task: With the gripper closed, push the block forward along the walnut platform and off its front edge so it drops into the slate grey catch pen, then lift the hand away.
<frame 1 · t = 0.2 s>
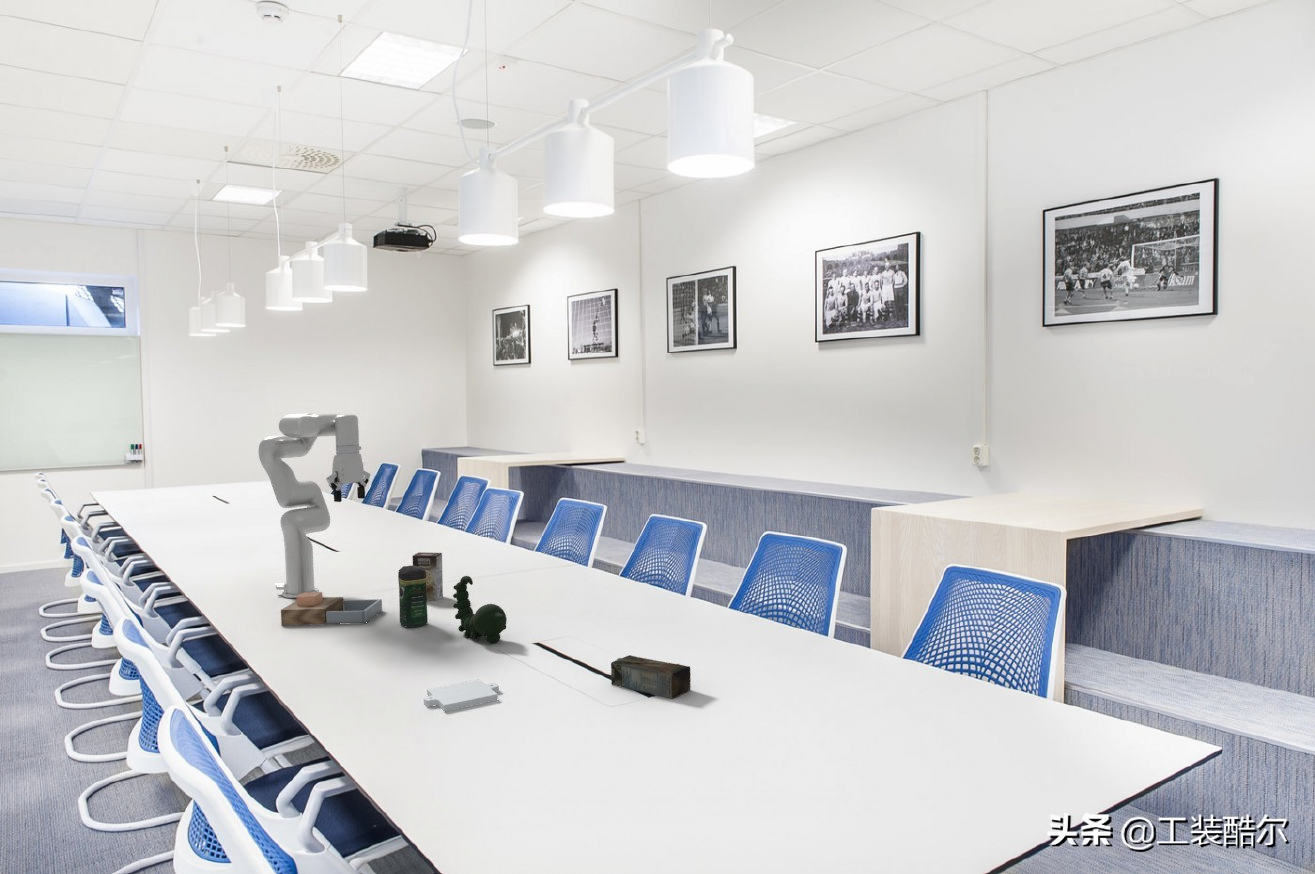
hand: (349, 500, 297), 37 cm above the table, tool pointing down, fingers open, 9 cm apart
block: (309, 603, 283), point 5 cm above the table, touching platform
beverage carton: (650, 689, 210), on the table
catch pen: (354, 617, 283), on the table
mounting plate: (462, 700, 206), on the table
platform: (313, 618, 283), on the table
coffee box: (428, 598, 308), on the table
coffee jar: (414, 625, 273), on the table
toy figurine: (481, 639, 256), on the table
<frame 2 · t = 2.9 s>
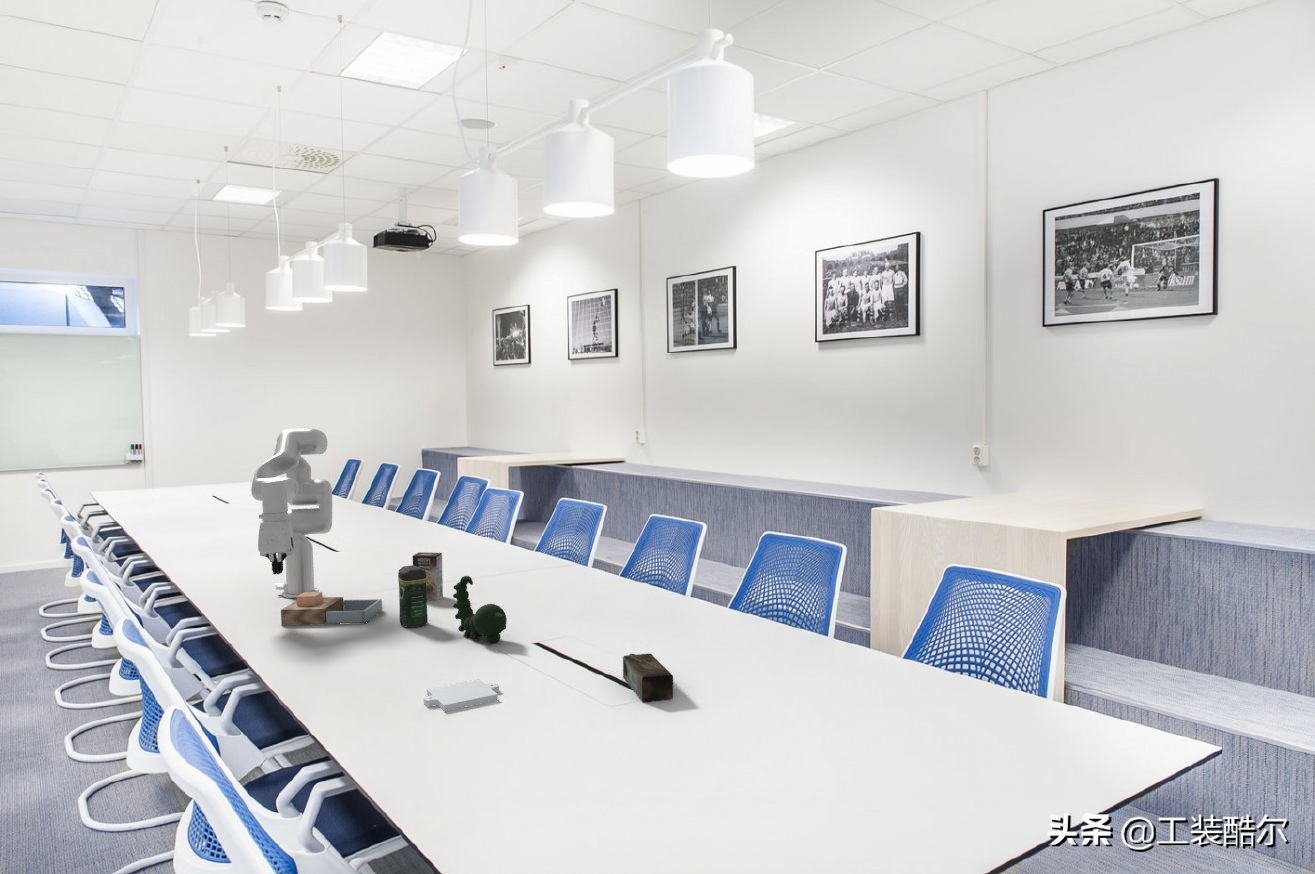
hand: (277, 573, 282), 15 cm above the table, tool pointing down, fingers closed
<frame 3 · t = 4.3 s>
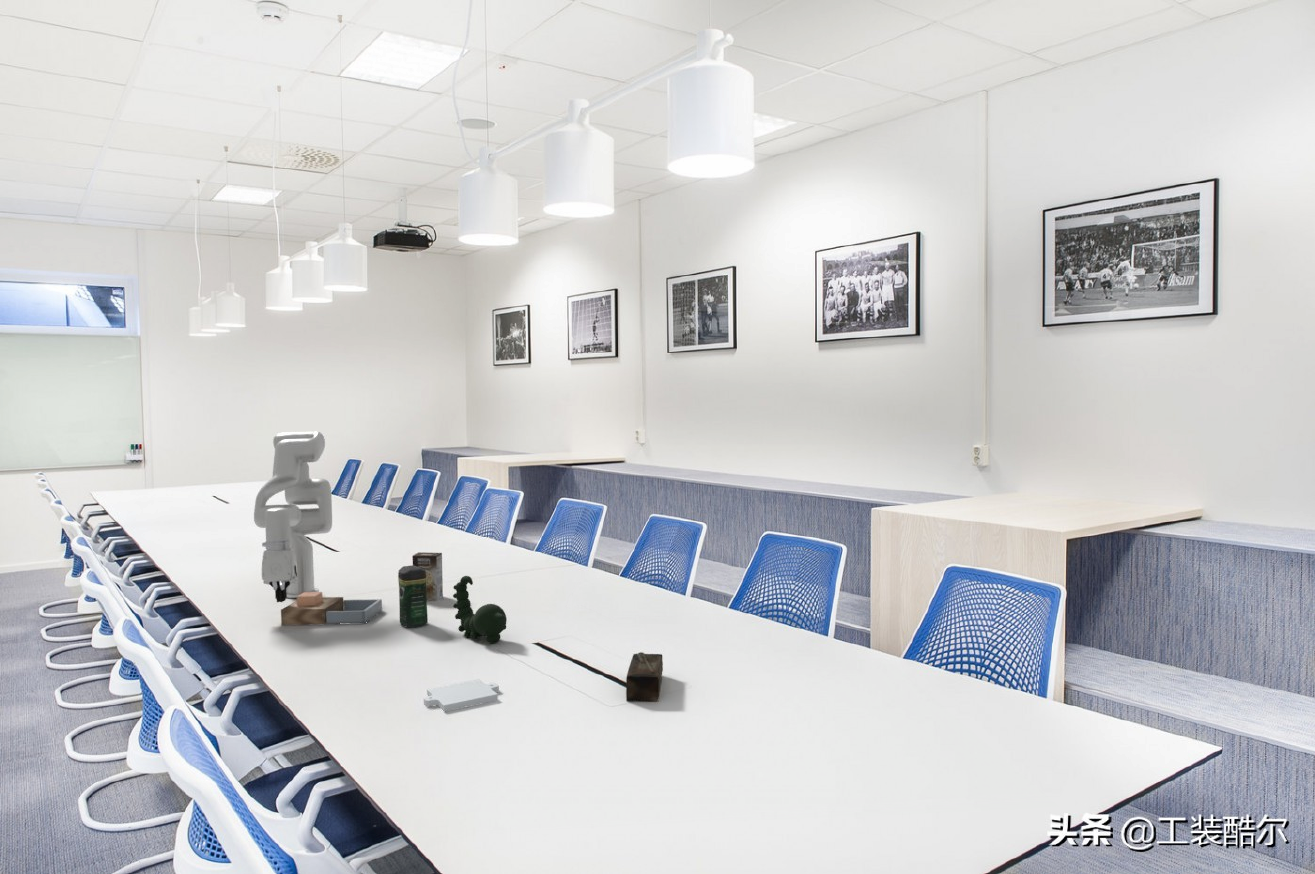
hand: (281, 601, 283), 6 cm above the table, tool pointing down, fingers closed
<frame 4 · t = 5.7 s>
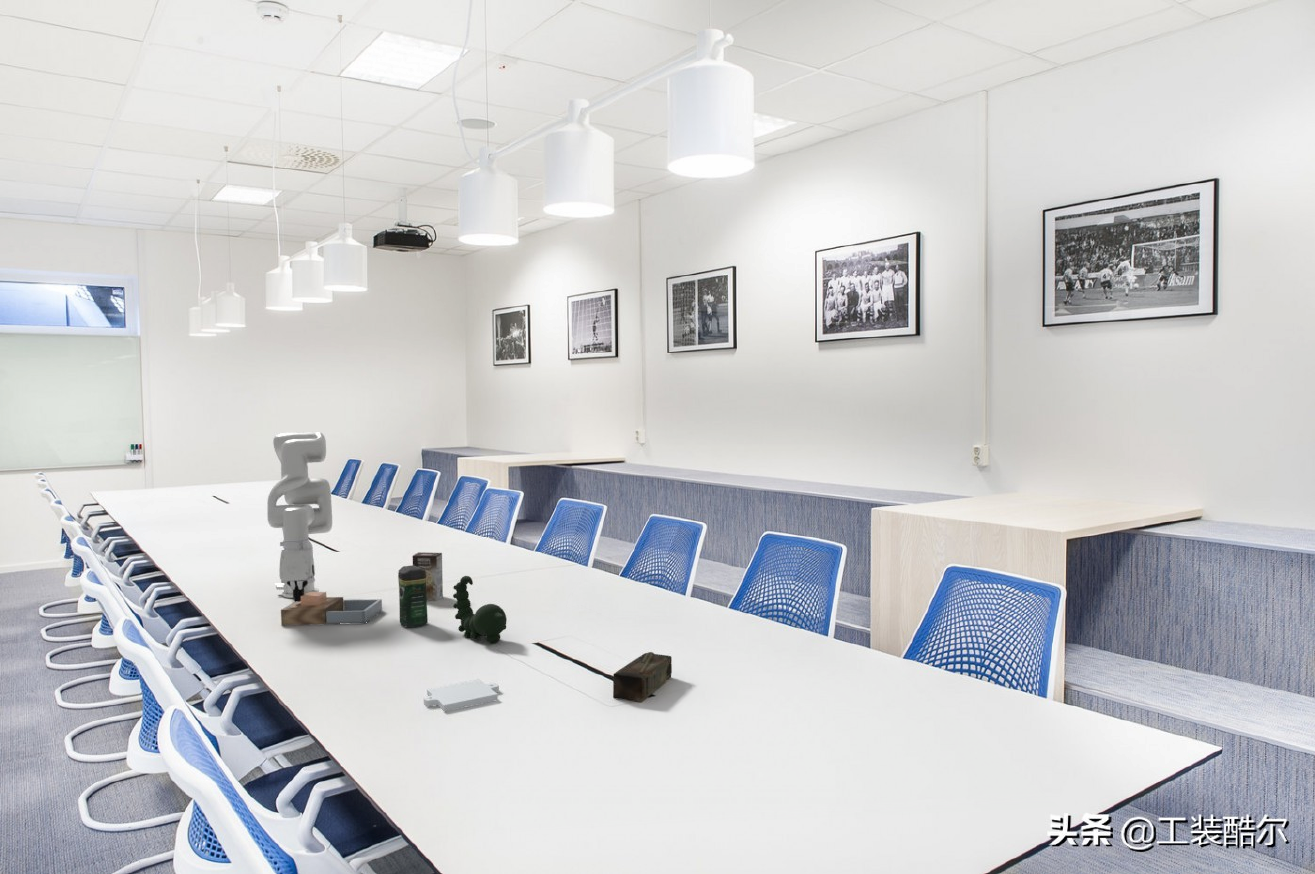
hand: (298, 600, 283), 6 cm above the table, tool pointing down, fingers closed
block: (313, 603, 283), point 5 cm above the table, touching gripper
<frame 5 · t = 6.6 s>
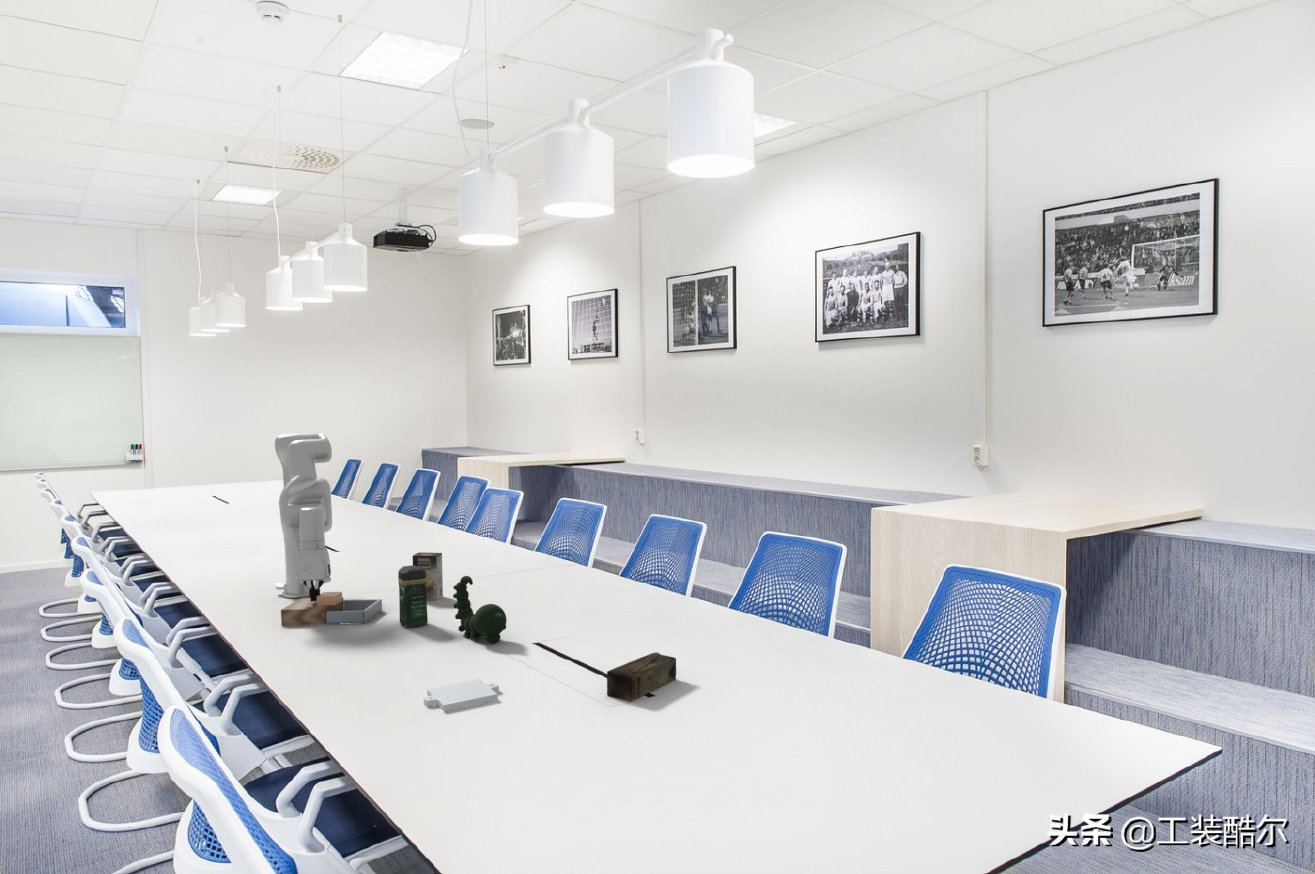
hand: (315, 600, 283), 6 cm above the table, tool pointing down, fingers closed
block: (329, 603, 283), point 5 cm above the table, touching gripper, platform
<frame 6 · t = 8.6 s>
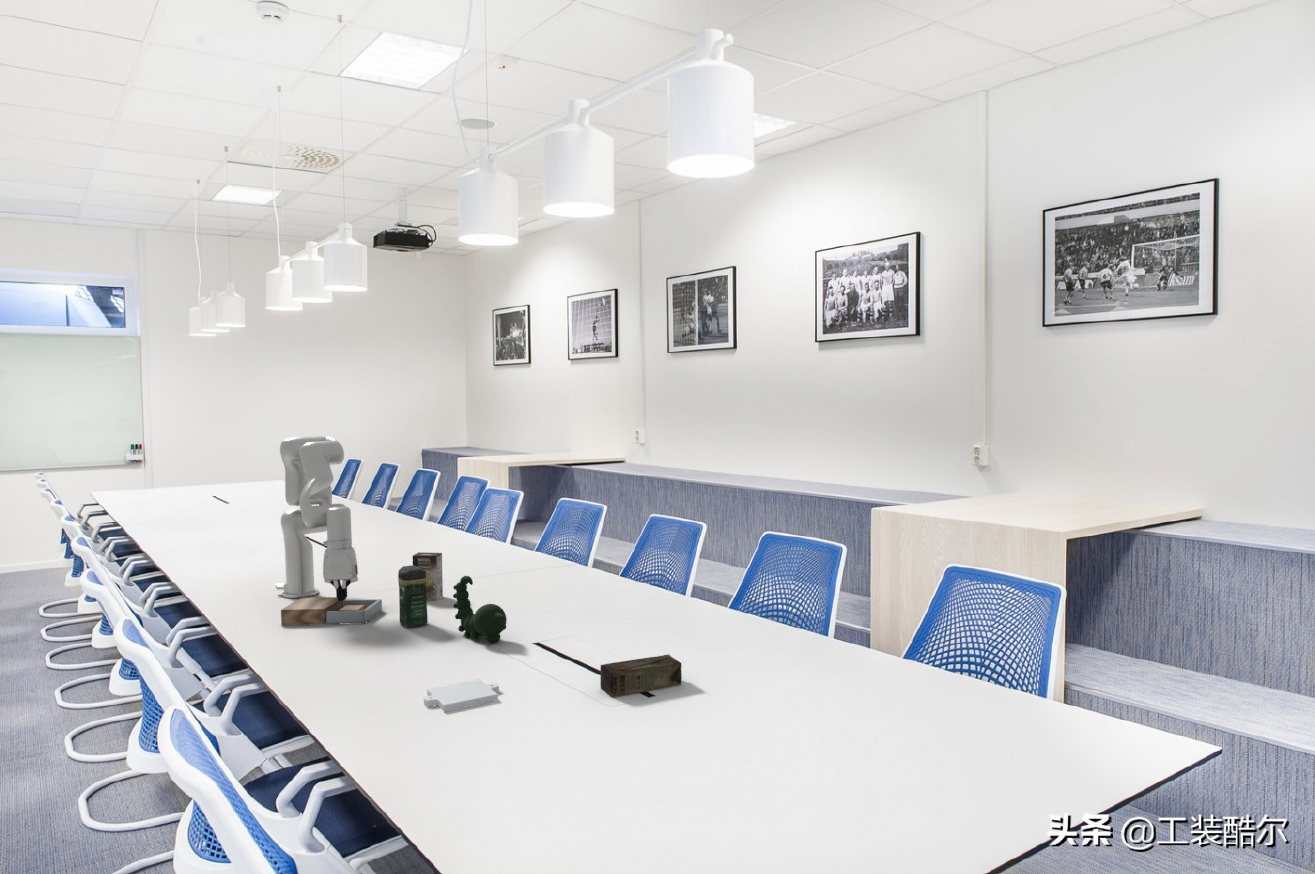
hand: (342, 599, 283), 6 cm above the table, tool pointing down, fingers closed
block: (352, 607, 282), point 3 cm above the table, tilted 180°, touching catch pen
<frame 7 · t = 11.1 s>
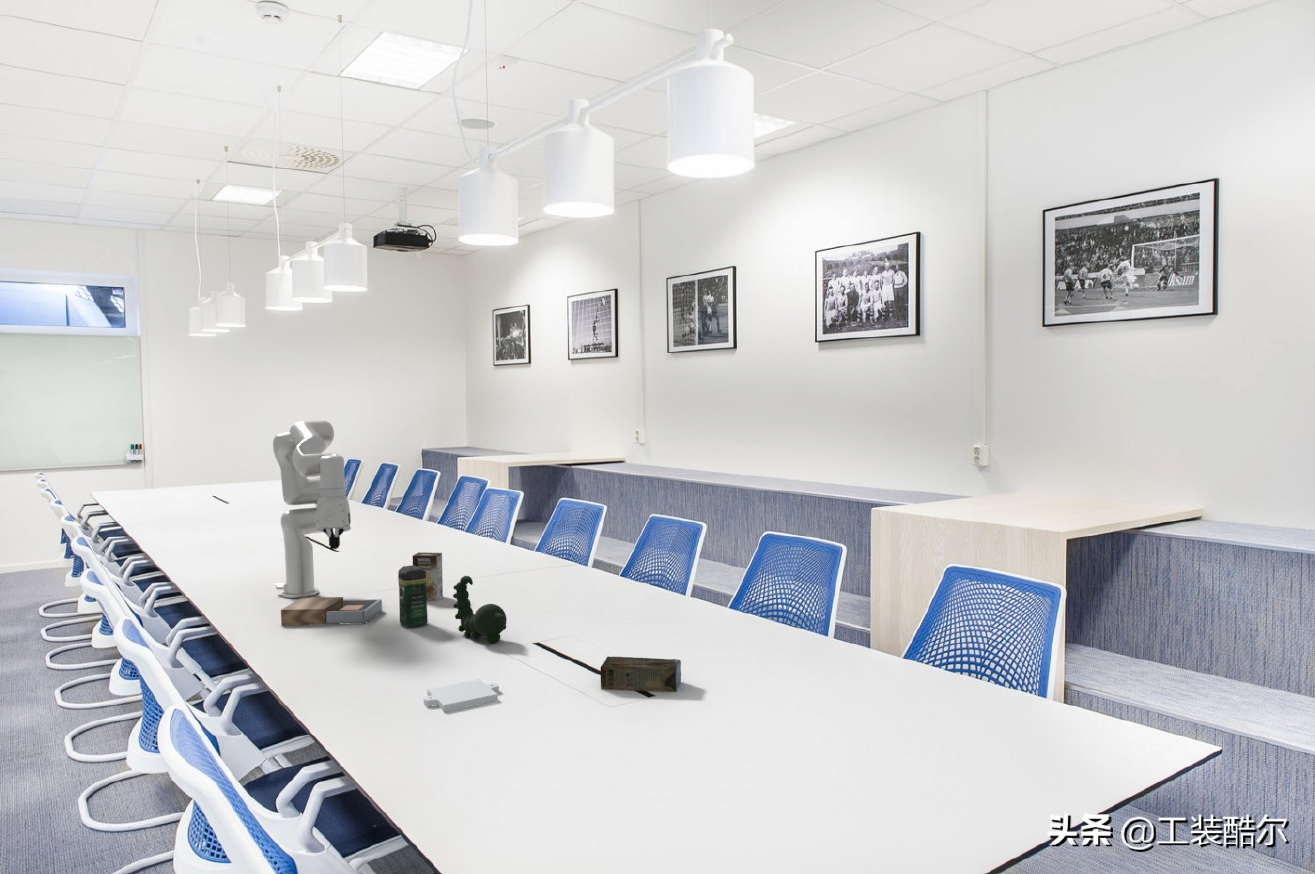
hand: (334, 548, 284), 23 cm above the table, tool pointing down, fingers closed
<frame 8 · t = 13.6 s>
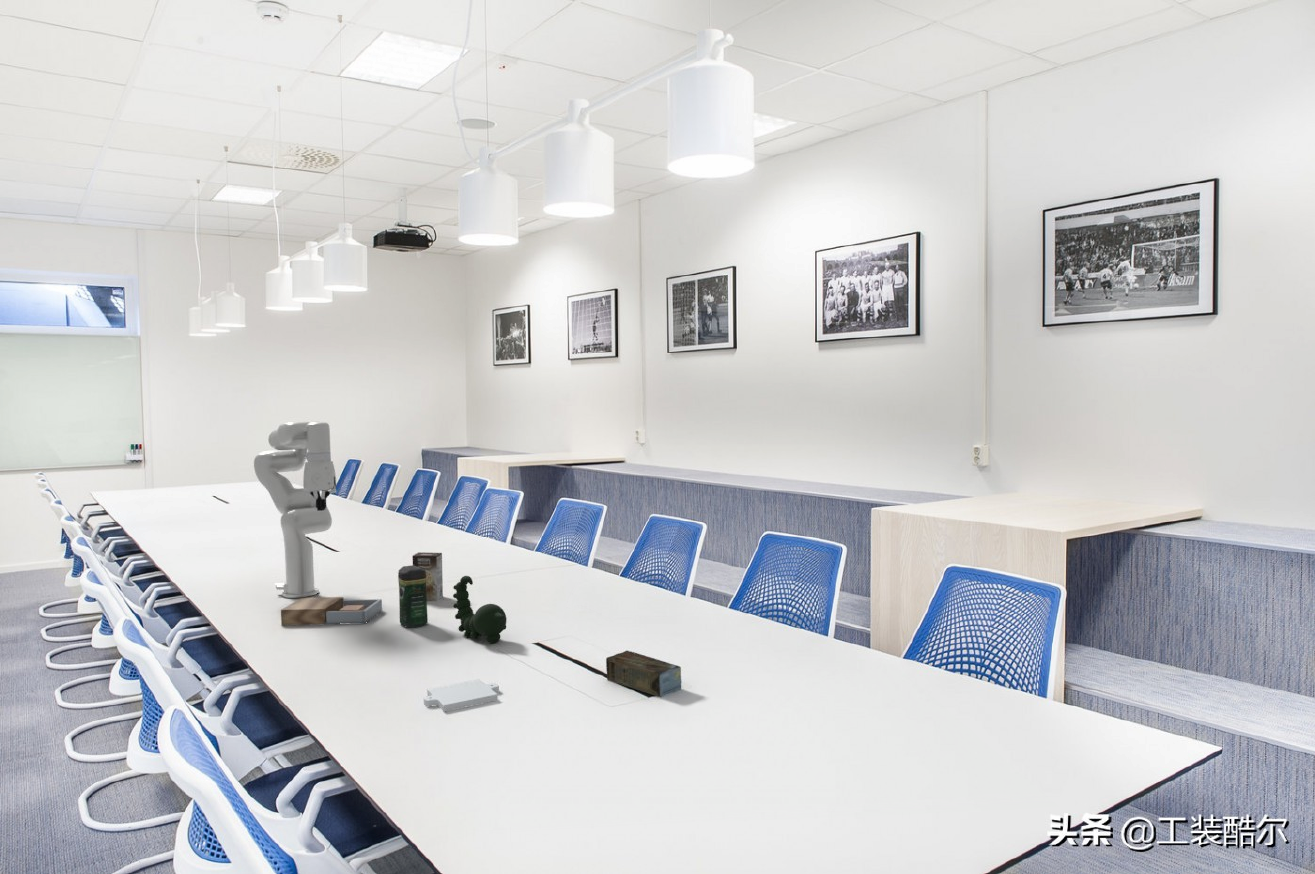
hand: (321, 510, 301), 33 cm above the table, tool pointing down, fingers closed
at the end: block inside the target area on the catch pen (0.6 cm from its centre), point 3.5 cm above the catch pen's base; block moved 14.2 cm from its start; the gripper is holding nothing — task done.
